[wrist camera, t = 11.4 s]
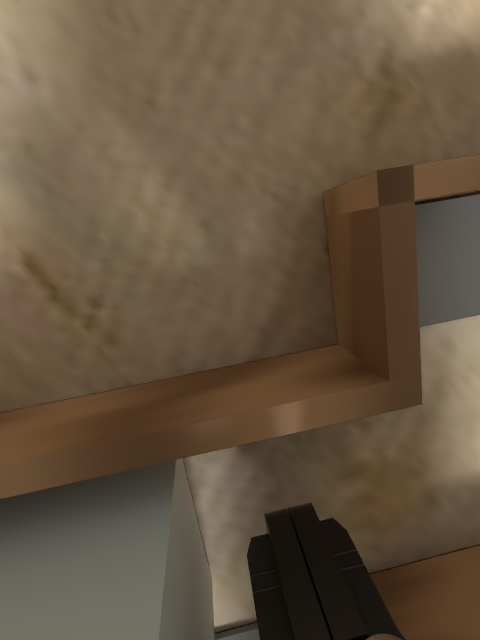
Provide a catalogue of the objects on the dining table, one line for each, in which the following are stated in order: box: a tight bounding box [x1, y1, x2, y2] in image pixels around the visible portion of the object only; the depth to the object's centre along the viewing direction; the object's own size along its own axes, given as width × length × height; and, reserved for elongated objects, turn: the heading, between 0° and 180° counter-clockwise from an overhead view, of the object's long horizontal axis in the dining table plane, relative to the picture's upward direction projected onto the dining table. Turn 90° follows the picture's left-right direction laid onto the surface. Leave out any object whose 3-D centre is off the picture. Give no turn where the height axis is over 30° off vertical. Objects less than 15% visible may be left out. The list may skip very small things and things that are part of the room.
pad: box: [415, 194, 480, 327], centre depth 11 cm, size 7×4×1 cm, turn 100°
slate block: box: [0, 458, 214, 640], centre depth 8 cm, size 6×6×6 cm
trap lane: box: [0, 154, 480, 640], centre depth 10 cm, size 27×20×4 cm
